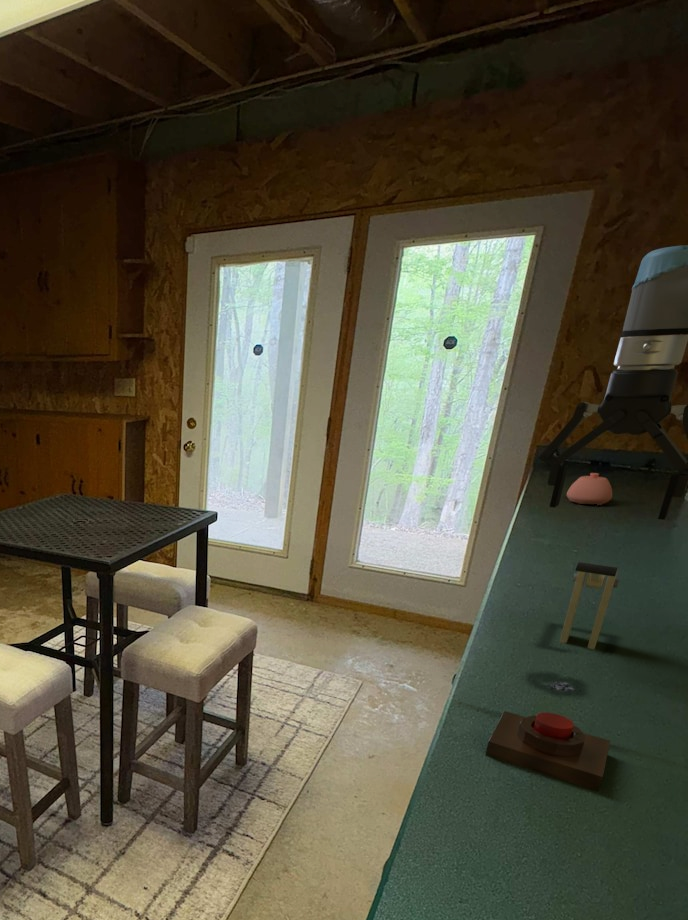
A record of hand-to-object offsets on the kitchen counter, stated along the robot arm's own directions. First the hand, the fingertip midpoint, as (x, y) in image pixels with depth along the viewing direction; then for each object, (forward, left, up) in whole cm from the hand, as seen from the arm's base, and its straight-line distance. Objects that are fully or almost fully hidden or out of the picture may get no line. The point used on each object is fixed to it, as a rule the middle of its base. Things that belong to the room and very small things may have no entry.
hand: (605, 511), depth 98 cm
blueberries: (-1, +14, -26) cm, 30 cm away
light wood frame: (-1, -6, -26) cm, 27 cm away
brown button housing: (-2, +35, -26) cm, 44 cm away
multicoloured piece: (-1, -1, -12) cm, 12 cm away
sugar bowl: (+11, -145, -26) cm, 148 cm away
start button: (-2, +35, -22) cm, 41 cm away
